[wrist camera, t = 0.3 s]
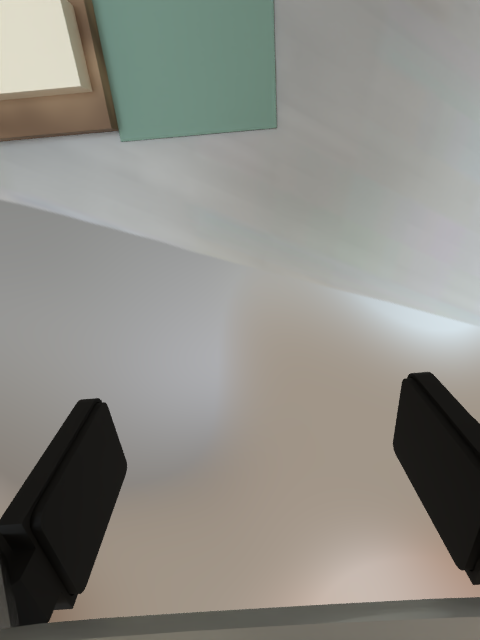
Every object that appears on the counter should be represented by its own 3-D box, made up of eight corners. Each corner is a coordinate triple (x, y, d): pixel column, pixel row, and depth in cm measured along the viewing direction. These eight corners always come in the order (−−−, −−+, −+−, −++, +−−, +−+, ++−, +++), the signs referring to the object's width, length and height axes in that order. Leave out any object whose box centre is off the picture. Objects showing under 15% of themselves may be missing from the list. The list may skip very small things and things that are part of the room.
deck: (-95, -78, 27) (-125, -99, 25) (73, -96, 27) (58, -119, 24) (-14, 142, 34) (-32, 141, 32) (119, 130, 34) (111, 128, 31)
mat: (83, -45, 28) (82, -47, 28) (271, -65, 28) (271, -67, 27) (121, 141, 34) (121, 141, 34) (276, 128, 34) (276, 127, 33)
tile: (-67, 19, 28) (-94, 7, 26) (73, 5, 28) (58, -9, 25) (-36, 103, 30) (-57, 99, 28) (92, 91, 30) (80, 86, 28)
